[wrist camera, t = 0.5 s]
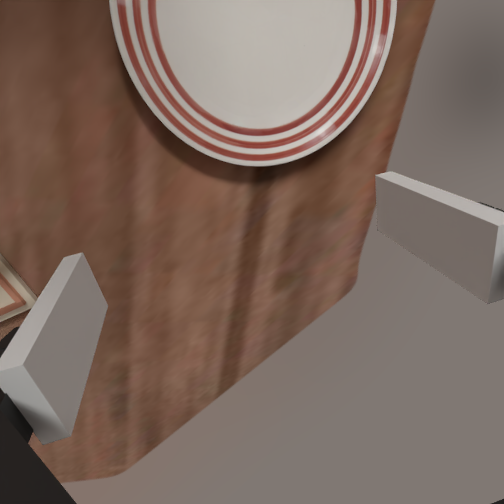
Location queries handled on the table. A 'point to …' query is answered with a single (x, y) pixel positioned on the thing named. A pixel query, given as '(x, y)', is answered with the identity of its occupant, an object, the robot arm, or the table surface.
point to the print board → (13, 292)
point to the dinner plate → (254, 70)
